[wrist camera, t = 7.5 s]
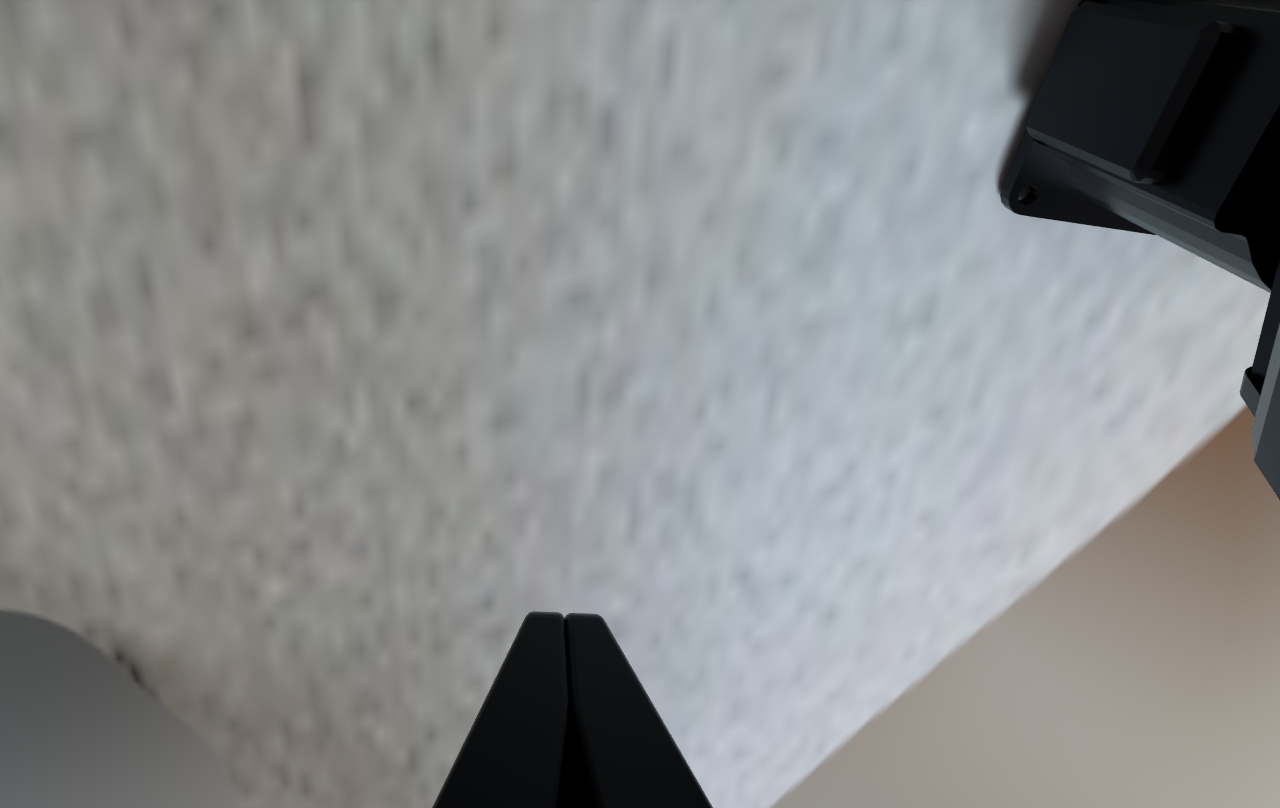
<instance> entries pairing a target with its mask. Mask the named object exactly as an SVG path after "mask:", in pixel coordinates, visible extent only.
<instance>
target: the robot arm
mask: <svg viewBox="0 0 1280 808" xmlns="http://www.w3.org/2000/svg"><path fill="white" fill-rule="evenodd" d="M1026 127H1027V129H1026V132H1025V134H1024V137H1023V139H1022V141H1021V144H1020V146H1019V149H1018V151H1017V153H1016V156H1015V158H1014V160H1013V163H1012V165H1011V168H1010V170H1009V172H1008V175H1007V177H1006V179H1005V182H1004V184H1003V187H1002V190H1001V195H1000V196H1001V202H1002V203H1003V205H1004V206H1005V207H1006V208H1008V209H1009V210H1011V211H1012V212H1014V213H1017V214H1019V215H1025V216H1031V217H1038V218H1045V219H1052V220H1058V221H1065V222H1072V223H1078V224H1085V225H1092V226H1099V227H1105V228H1112V229H1119V230H1125V231H1132V232H1139V233H1146V234H1152V235H1158V236H1160V237H1162V238H1164V239H1166V240H1168V241H1170V242H1172V243H1174V244H1176V245H1178V246H1180V247H1182V248H1184V249H1186V250H1187V251H1189V252H1191V253H1193V254H1195V255H1197V256H1199V257H1201V258H1203V259H1205V260H1207V261H1209V262H1211V263H1213V264H1215V265H1217V266H1219V267H1221V268H1223V269H1225V270H1227V271H1229V272H1230V273H1232V274H1234V275H1236V276H1238V277H1240V278H1242V279H1244V280H1246V281H1248V282H1250V283H1252V284H1254V285H1256V286H1258V287H1260V288H1262V289H1264V290H1266V291H1268V292H1270V293H1271V295H1270V299H1269V303H1268V307H1267V311H1266V315H1265V319H1264V323H1263V327H1262V331H1261V335H1260V339H1259V343H1258V347H1257V351H1256V355H1255V359H1254V363H1253V366H1252V367H1249V368H1247V369H1246V370H1245V373H1244V377H1243V381H1242V385H1241V389H1240V395H1241V397H1242V398H1243V400H1244V401H1245V403H1246V404H1247V406H1248V408H1249V409H1250V410H1251V412H1252V414H1253V415H1254V417H1255V419H1254V423H1253V426H1252V434H1253V450H1254V462H1255V463H1256V464H1257V466H1258V468H1259V469H1260V471H1261V472H1262V473H1263V475H1264V477H1265V478H1266V480H1267V481H1268V483H1269V484H1270V486H1271V487H1272V489H1273V490H1274V492H1275V493H1276V495H1277V496H1278V498H1279V499H1280V0H1081V1H1080V3H1079V6H1078V8H1077V9H1076V10H1075V11H1074V12H1073V13H1072V14H1071V16H1070V19H1069V21H1068V24H1067V26H1066V28H1065V31H1064V33H1063V36H1062V38H1061V40H1060V43H1059V45H1058V47H1057V50H1056V52H1055V55H1054V57H1053V59H1052V62H1051V64H1050V67H1049V69H1048V71H1047V74H1046V76H1045V79H1044V81H1043V83H1042V86H1041V88H1040V91H1039V93H1038V95H1037V98H1036V100H1035V103H1034V105H1033V107H1032V110H1031V112H1030V114H1029V117H1028V119H1027V122H1026ZM1027 185H1030V191H1029V193H1028V194H1027V196H1026V197H1024V198H1023V199H1021V200H1018V197H1019V193H1020V192H1021V190H1022V189H1023V188H1024V187H1026V186H1027ZM432 808H713V807H712V805H711V803H710V802H709V800H708V798H707V797H706V795H705V793H704V791H703V790H702V788H701V786H700V784H699V783H698V781H697V779H696V778H695V776H694V774H693V772H692V771H691V769H690V767H689V765H688V764H687V762H686V760H685V759H684V757H683V755H682V753H681V752H680V750H679V748H678V746H677V745H676V743H675V741H674V740H673V738H672V736H671V734H670V733H669V731H668V729H667V727H666V726H665V724H664V722H663V721H662V719H661V717H660V715H659V714H658V712H657V710H656V708H655V707H654V705H653V703H652V702H651V700H650V698H649V696H648V695H647V693H646V691H645V690H644V688H643V686H642V684H641V683H640V681H639V679H638V677H637V676H636V674H635V672H634V671H633V669H632V667H631V665H630V664H629V662H628V660H627V658H626V657H625V655H624V653H623V652H622V650H621V648H620V646H619V645H618V643H617V641H616V639H615V638H614V636H613V634H612V633H611V631H610V629H609V627H608V626H607V624H606V622H605V621H604V619H603V618H602V617H601V616H599V615H598V614H583V613H570V614H568V615H566V616H565V618H564V617H563V615H562V614H561V613H558V612H530V613H529V614H528V615H527V616H526V617H525V619H524V621H523V623H522V625H521V627H520V629H519V631H518V633H517V636H516V638H515V640H514V642H513V644H512V646H511V648H510V650H509V652H508V654H507V656H506V658H505V660H504V662H503V664H502V666H501V668H500V670H499V672H498V674H497V676H496V678H495V681H494V683H493V685H492V687H491V689H490V691H489V693H488V695H487V697H486V699H485V701H484V703H483V705H482V707H481V709H480V711H479V713H478V715H477V717H476V719H475V721H474V724H473V726H472V728H471V730H470V732H469V734H468V736H467V738H466V740H465V742H464V744H463V746H462V748H461V750H460V752H459V754H458V756H457V758H456V760H455V762H454V764H453V766H452V769H451V771H450V773H449V775H448V777H447V779H446V781H445V783H444V785H443V787H442V789H441V791H440V793H439V795H438V797H437V799H436V801H435V803H434V805H433V807H432Z"/></svg>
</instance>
